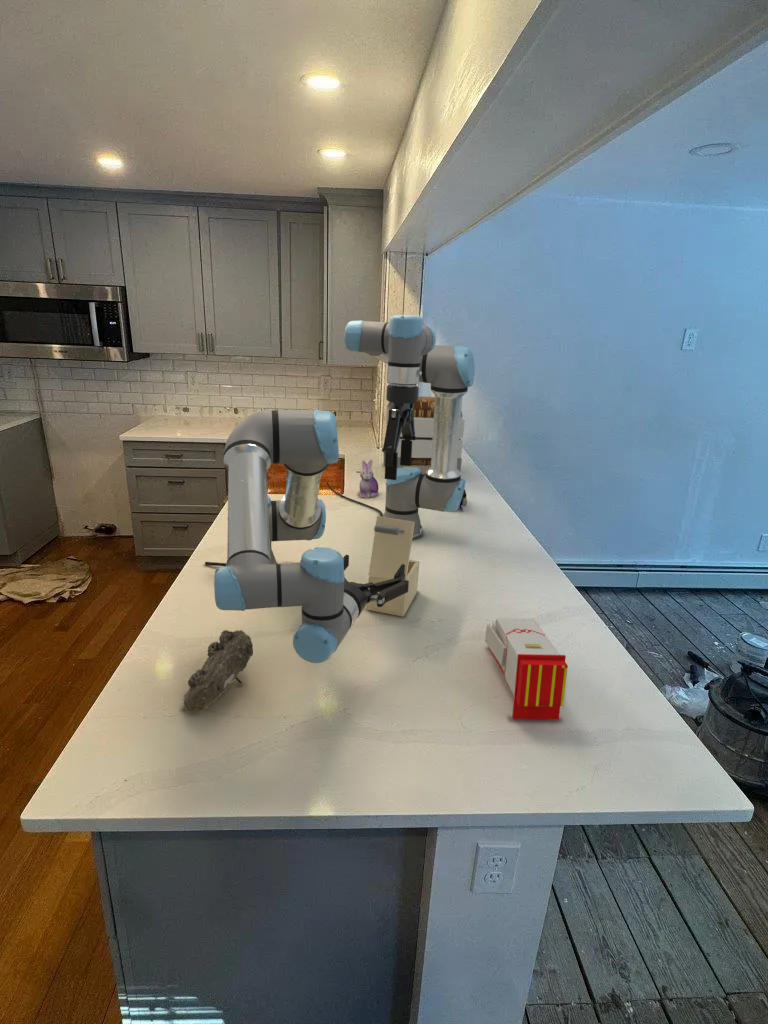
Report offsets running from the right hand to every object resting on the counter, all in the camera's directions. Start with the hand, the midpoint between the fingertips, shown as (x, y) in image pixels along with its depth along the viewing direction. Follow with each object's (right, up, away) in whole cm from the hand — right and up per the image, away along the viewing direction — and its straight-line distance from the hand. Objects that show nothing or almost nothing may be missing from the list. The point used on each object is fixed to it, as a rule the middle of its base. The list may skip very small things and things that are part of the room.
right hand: (398, 472), depth 140 cm
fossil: (-37, -45, -22) cm, 62 cm away
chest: (-1, -34, +14) cm, 37 cm away
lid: (-2, -19, +5) cm, 20 cm away
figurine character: (+26, -8, +91) cm, 95 cm away
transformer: (+14, +9, +135) cm, 136 cm away
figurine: (-10, -3, +99) cm, 100 cm away
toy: (+26, -46, -16) cm, 55 cm away
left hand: (-6, -22, -9) cm, 24 cm away
